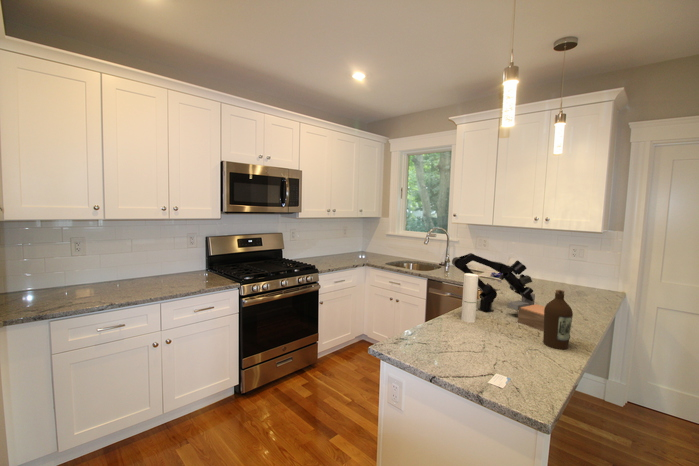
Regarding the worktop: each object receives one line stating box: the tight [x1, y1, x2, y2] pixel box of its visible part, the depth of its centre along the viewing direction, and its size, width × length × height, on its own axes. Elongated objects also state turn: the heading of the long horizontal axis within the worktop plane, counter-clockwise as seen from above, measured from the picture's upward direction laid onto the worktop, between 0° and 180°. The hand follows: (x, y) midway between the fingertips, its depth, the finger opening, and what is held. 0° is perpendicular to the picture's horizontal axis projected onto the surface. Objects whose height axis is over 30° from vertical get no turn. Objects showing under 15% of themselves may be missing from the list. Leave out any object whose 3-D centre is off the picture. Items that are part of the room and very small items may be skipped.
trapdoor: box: [507, 299, 545, 315], centre depth 173 cm, size 14×23×3 cm, turn 29°
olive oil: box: [542, 289, 574, 351], centre depth 142 cm, size 11×11×25 cm
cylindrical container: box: [460, 273, 479, 324], centre depth 170 cm, size 7×7×25 cm
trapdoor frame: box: [517, 308, 544, 332], centre depth 169 cm, size 18×14×8 cm
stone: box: [520, 292, 536, 306], centre depth 187 cm, size 5×5×7 cm
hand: (530, 299), depth 187 cm, fingers closed on stone, 5 cm apart
